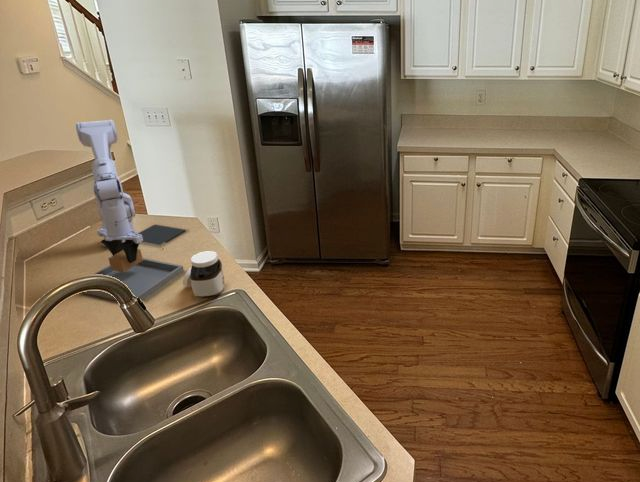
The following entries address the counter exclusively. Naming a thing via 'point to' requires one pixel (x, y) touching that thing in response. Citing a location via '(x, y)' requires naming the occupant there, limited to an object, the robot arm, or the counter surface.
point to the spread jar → (205, 275)
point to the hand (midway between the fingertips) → (126, 259)
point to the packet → (123, 261)
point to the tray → (142, 277)
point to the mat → (160, 234)
